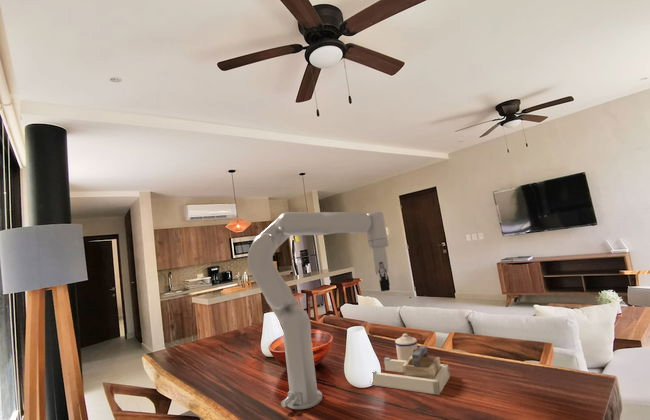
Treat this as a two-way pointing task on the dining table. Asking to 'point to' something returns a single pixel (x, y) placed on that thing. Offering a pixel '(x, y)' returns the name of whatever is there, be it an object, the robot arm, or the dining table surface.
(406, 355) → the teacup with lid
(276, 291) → the robot arm
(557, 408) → the dining table surface
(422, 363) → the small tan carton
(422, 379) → the bay
